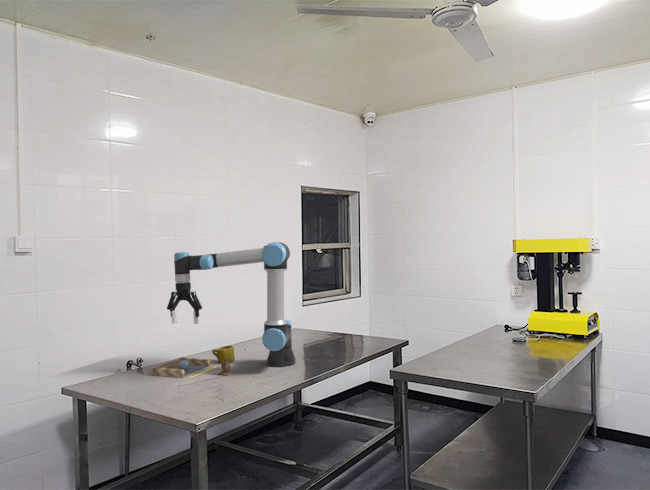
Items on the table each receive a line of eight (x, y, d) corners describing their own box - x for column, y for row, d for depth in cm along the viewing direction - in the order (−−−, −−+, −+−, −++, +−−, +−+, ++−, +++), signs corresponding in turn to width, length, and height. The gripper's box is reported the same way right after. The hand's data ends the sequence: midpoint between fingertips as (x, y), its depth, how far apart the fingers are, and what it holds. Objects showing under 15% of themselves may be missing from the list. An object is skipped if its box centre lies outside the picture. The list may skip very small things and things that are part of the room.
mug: (241, 356, 273) (234, 340, 271) (231, 366, 264) (224, 350, 262) (224, 359, 279) (217, 343, 277) (214, 368, 270) (206, 352, 268)
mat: (207, 366, 261) (207, 365, 261) (183, 376, 243) (183, 375, 243) (182, 364, 267) (182, 363, 267) (157, 374, 248) (156, 373, 248)
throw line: (217, 366, 261) (217, 365, 261) (190, 378, 239) (190, 378, 239) (216, 366, 261) (216, 365, 261) (188, 378, 239) (188, 378, 239)
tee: (234, 372, 247) (233, 359, 247) (227, 375, 242) (227, 362, 241) (223, 371, 249) (223, 359, 249) (217, 375, 244) (216, 361, 244)
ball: (192, 366, 256) (188, 357, 256) (186, 368, 251) (182, 359, 252) (185, 369, 257) (181, 361, 258) (179, 372, 252) (175, 363, 253)
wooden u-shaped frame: (209, 365, 262) (209, 359, 262) (182, 377, 241) (182, 370, 241) (181, 363, 269) (181, 357, 269) (152, 374, 248) (152, 367, 248)
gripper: (207, 281, 253) (209, 322, 253) (168, 281, 262) (170, 321, 262) (198, 282, 246) (201, 325, 246) (158, 283, 255) (160, 324, 255)
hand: (185, 323), depth 254 cm, fingers open, 13 cm apart
